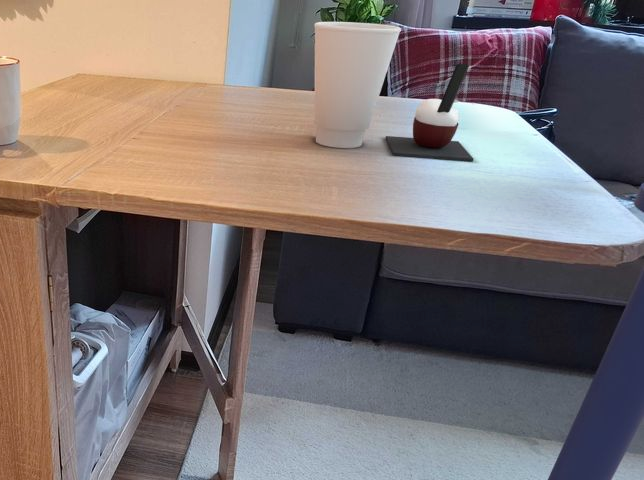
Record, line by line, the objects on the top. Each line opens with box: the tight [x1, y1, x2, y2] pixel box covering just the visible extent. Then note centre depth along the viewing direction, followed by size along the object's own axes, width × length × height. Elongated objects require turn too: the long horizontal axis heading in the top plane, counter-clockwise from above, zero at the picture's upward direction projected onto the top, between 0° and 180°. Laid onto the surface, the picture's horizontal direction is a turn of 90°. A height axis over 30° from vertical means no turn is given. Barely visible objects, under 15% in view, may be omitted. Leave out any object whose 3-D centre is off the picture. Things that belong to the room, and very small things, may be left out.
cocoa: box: [412, 62, 470, 149], centre depth 91 cm, size 10×6×12 cm, turn 154°
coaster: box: [385, 135, 474, 162], centre depth 94 cm, size 11×11×1 cm
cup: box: [313, 21, 402, 149], centre depth 92 cm, size 12×12×16 cm
